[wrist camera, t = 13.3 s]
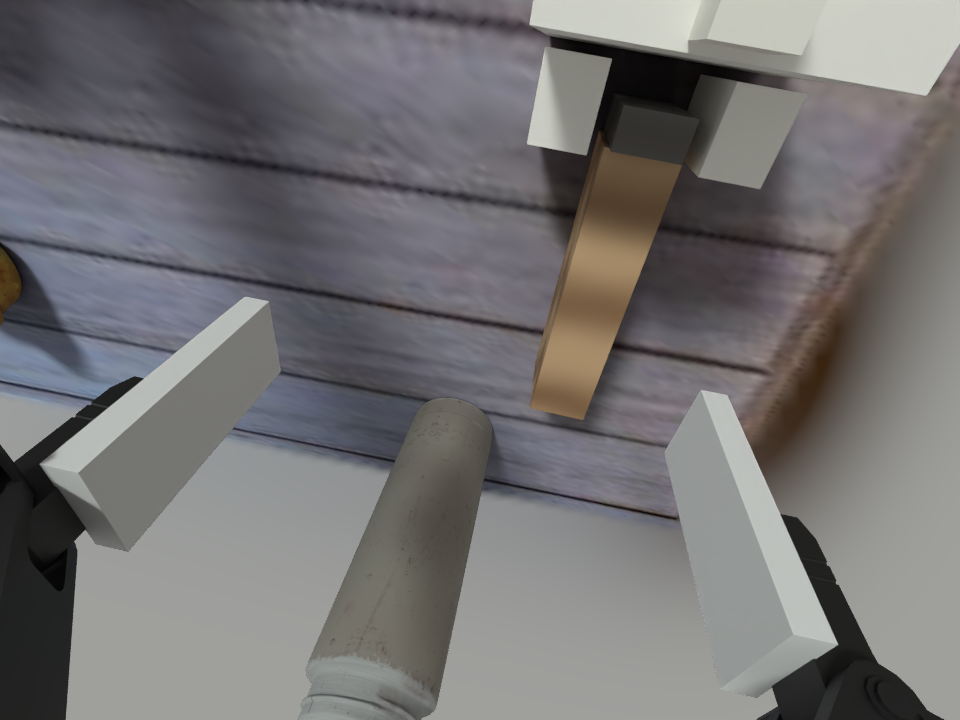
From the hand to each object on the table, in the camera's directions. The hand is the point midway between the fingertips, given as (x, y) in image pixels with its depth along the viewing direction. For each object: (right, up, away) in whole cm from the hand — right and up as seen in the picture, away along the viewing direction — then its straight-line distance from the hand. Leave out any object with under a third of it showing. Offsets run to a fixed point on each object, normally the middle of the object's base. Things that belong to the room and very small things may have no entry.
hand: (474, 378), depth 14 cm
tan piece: (+8, +7, +19) cm, 22 cm away
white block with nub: (+10, +17, +12) cm, 23 cm away
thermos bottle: (-2, -6, +30) cm, 31 cm away
